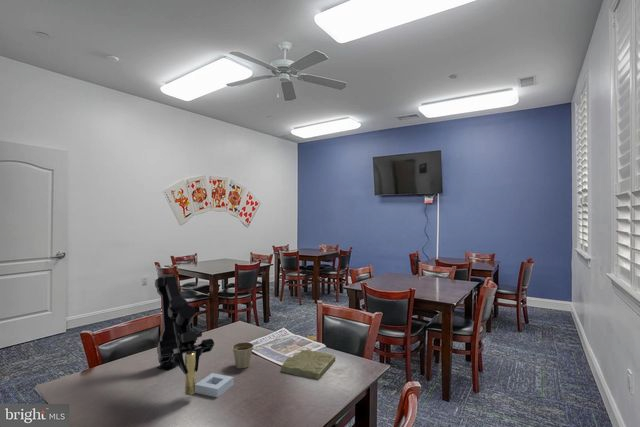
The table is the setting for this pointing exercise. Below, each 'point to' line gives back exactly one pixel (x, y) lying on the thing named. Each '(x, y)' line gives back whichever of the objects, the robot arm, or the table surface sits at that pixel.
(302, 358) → the decorative tile
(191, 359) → the pin
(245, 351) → the flower pot
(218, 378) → the socket block
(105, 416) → the table surface
